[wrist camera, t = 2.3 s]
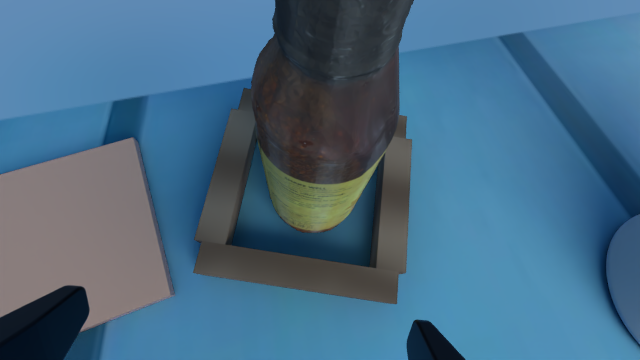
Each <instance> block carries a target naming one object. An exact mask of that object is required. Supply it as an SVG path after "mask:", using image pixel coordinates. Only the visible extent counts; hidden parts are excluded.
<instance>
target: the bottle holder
mask: <svg viewBox="0 0 640 360" xmlns="http://www.w3.org/2000/svg"><path fill="white" fill-rule="evenodd" d="M406 121H407V116H402V115H399V120H398V124H397V129H396V131H395V134H394V136H393V138H392V140H391V142H390V144H389V146H388V148H387V150H386V152H385V153H384V156H383V158H382V159H381V160H380V162H379V164H378V172H377V184H376V195H375V207H374V219H373V231H372V243H371V254H370V266H369V267H365V266H358V265H352V264H346V263H339V262H333V261H327V260H320V259H314V258H308V257H301V256H295V255H288V254H282V253H276V252H269V251H263V250H257V249H250V248H244V247H238V246H231V244H232V240H233V236H234V232H235V228H236V224H237V220H238V215H239V211H240V207H241V203H242V199H243V195H244V190H245V186H246V182H247V178H248V174H249V170H250V166H251V161H252V157H253V153H254V149H255V145H256V141H257V136H256V120H255V116H254V112H253V109H252V101H251V89H247V88H244V89H243V93H242V97H241V100H240V104H239V108H238V110H237V109H231V112H230V115H229V119H228V122H227V126H226V129H225V133H224V136H223V140H222V143H221V147H220V150H219V154H218V157H217V161H216V164H215V168H214V171H213V175H212V178H211V182H210V185H209V189H208V193H207V196H206V200H205V203H204V207H203V210H202V214H201V217H200V221H199V224H198V228H197V231H196V235H195V238H194V240H196V241H197V242H199V243H201V246H200V249H199V253H198V257H197V260H196V264H195V268H194V271H193V273H197V274H201V275H207V276H214V277H220V278H227V279H233V280H240V281H246V282H253V283H259V284H266V285H272V286H279V287H285V288H292V289H298V290H305V291H311V292H318V293H324V294H331V295H337V296H344V297H350V298H357V299H363V300H370V301H376V302H383V303H391V304H397V292H398V274H403V273H406V261H407V238H408V216H409V193H410V171H411V149H412V140H411V139H406Z"/></svg>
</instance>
